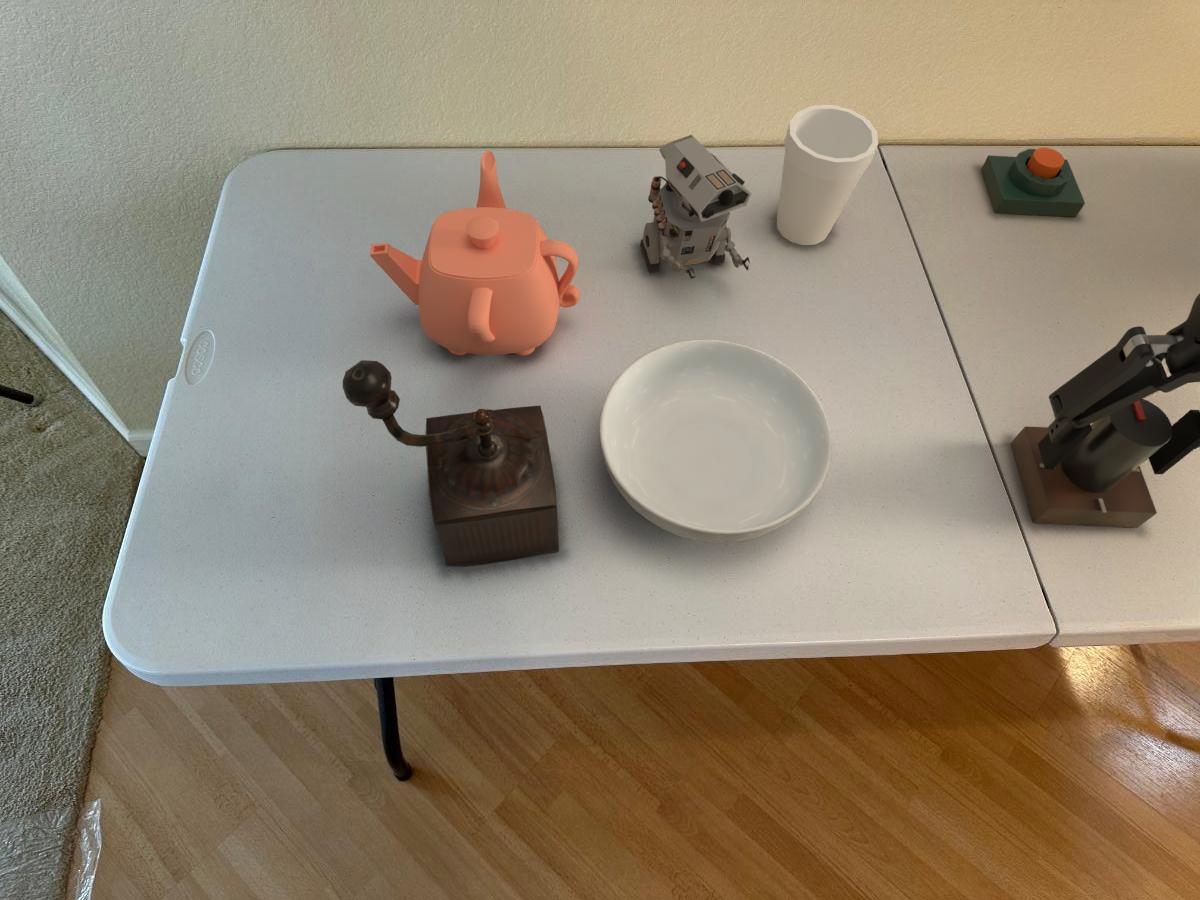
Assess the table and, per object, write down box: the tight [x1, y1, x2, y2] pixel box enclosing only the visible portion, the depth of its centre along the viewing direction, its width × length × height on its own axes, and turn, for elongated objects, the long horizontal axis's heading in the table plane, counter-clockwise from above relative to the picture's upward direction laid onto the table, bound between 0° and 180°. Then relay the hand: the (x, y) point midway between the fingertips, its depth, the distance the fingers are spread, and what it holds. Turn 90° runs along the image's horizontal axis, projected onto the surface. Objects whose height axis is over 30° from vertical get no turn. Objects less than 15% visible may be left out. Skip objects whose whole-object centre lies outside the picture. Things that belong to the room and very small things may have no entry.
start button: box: [1027, 147, 1065, 178], centre depth 97 cm, size 4×4×2 cm
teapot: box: [369, 150, 581, 357], centre depth 81 cm, size 16×17×14 cm
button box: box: [980, 148, 1086, 218], centre depth 99 cm, size 10×8×4 cm
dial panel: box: [1010, 425, 1158, 529], centre depth 77 cm, size 10×9×3 cm
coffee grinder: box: [341, 359, 560, 568], centre depth 67 cm, size 16×11×18 cm
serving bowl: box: [598, 339, 833, 544], centre depth 75 cm, size 21×21×7 cm
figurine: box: [639, 134, 752, 280], centre depth 85 cm, size 9×12×15 cm
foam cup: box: [776, 104, 879, 246], centre depth 91 cm, size 10×9×13 cm
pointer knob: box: [1062, 398, 1173, 492], centre depth 73 cm, size 5×5×8 cm
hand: (1099, 459), depth 75 cm, fingers open, 9 cm apart
